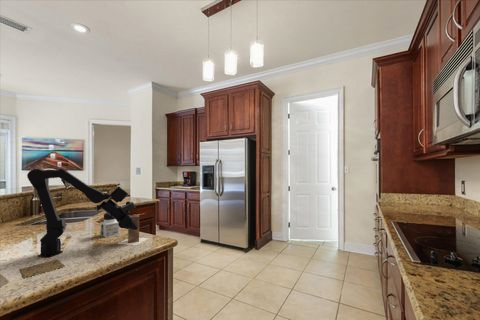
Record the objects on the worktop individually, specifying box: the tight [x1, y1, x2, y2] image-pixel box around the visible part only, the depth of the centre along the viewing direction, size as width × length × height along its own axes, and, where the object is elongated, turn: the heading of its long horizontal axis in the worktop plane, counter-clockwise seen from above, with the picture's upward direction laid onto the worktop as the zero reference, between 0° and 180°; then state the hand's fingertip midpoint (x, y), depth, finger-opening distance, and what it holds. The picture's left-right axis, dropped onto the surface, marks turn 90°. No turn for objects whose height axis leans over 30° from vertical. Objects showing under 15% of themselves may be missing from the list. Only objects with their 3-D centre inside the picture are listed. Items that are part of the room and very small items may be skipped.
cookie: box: [19, 258, 66, 280], centre depth 87 cm, size 12×12×1 cm
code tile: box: [117, 237, 149, 246], centre depth 117 cm, size 11×11×1 cm
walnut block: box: [127, 214, 140, 243], centre depth 118 cm, size 5×5×13 cm
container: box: [99, 212, 121, 238], centre depth 129 cm, size 8×8×13 cm
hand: (136, 227), depth 118 cm, fingers closed on walnut block, 5 cm apart
